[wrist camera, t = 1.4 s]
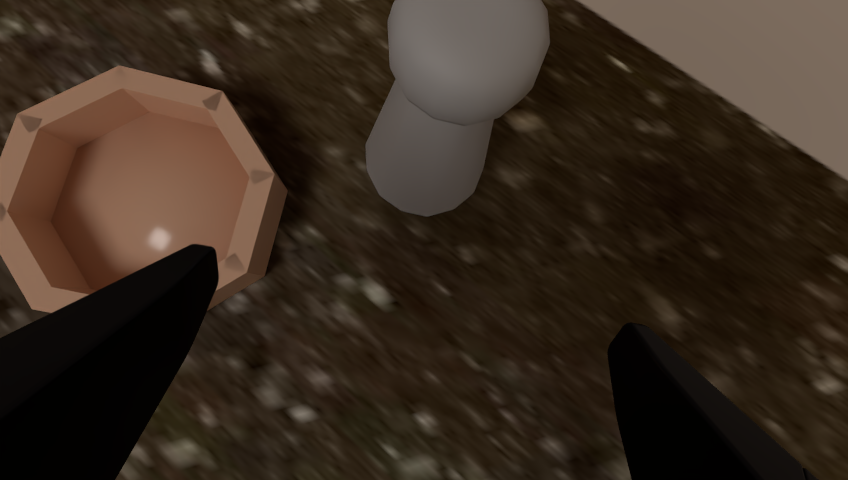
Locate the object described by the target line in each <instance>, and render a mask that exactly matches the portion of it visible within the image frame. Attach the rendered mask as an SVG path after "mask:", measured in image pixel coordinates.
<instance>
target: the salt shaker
mask: <svg viewBox="0 0 848 480" xmlns="http://www.w3.org/2000/svg"><path fill="white" fill-rule="evenodd" d="M388 39H389V59H390V69H391V70H392V72H393V74H394V76H395V78H396V80H395V82H394V84H393V86H392V88H391V90H390V93H389V95H388V97H387V99H386V101H385V103H384V106H383V108H382V110H381V112H380V114H379V116H378V119H377V121H376V123H375V125H374V127H373V129H372V132H371V134H370V136H369V138H368V140H367V142H366V165H367V172H368V174H369V176H370V178H371V180H372V182H373V184H374V186H375V188H376V190H377V192H378V194H379V195H380V196H381V197H382V198H384V199H385V200H386V201H388V202H389V203H391V204H392V205H394V206H395V207H396V208H398V209H399V210H401V211H403V212H408V213H412V214H417V215H421V216H426V217H428V216H432V215H435V214H439V213H442V212H446V211H450V210H453V209H455V208H456V207H457V206H459V205H460V204H461V203H462V202H463V201H465V200H466V199H467V198H468V197H469V196H471V195H472V194H473V193H474V191H475V188H476V186H477V183H478V181H479V178H480V176H481V173H482V171H483V168H484V163H485V158H486V154H487V149H488V144H489V140H490V135H491V130H492V126H493V121H494V119H496V118H499V117H501V116H502V115H503V114H504V113H506V112H507V111H508V110H509V109H511V108H512V107H513V106H514V105H516V104H517V103H518V102H519V101H521V100H522V99H523V98H524V97H525V96H526V95H527V94H528V93H529V91H530V90H531V89H532V88H533V85H534V83H535V80H536V78H537V75H538V73H539V70H540V68H541V65H542V62H543V60H544V57H545V55H546V52H547V50H548V47H549V44H550V37H549V24H548V12H547V9H546V7H545V6H544V4H543V2H542V1H541V0H395V2H394V4H393V6H392V9H391V12H390V15H389V18H388Z"/></svg>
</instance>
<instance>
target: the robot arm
mask: <svg viewBox="0 0 848 480" xmlns="http://www.w3.org/2000/svg"><path fill="white" fill-rule="evenodd" d="M218 282H219V272H218V263H217V254H216V250H215V249H214V248H213V247H211V246H206V245H201V244H191V245H189V246H187V247H184V248H182V249H180V250H178V251H176V252H174V253H172V254H170V255H168V256H166V257H164V258H162V259H160V260H158V261H156V262H154V263H152V264H150V265H148V266H146V267H144V268H142V269H140V270H138V271H136V272H134V273H132V274H130V275H128V276H126V277H124V278H122V279H119V280H117V281H115V282H113V283H111V284H109V285H107V286H105V287H103V288H101V289H99V290H97V291H95V292H93V293H91V294H89V295H87V296H85V297H83V298H81V299H79V300H77V301H75V302H73V303H71V304H69V305H67V306H65V307H63V308H61V309H59V310H56V311H54V312H52V313H50V314H48V315H46V316H44V317H42V318H40V319H38V320H36V321H34V322H32V323H30V324H28V325H26V326H24V327H22V328H20V329H18V330H16V331H14V332H12V333H10V334H8V335H6V336H4V337H2V338H0V480H115V479H116V477H117V476H118V474H119V472H120V470H121V469H122V467H123V465H124V463H125V462H126V460H127V458H128V457H129V455H130V453H131V451H132V450H133V448H134V446H135V444H136V443H137V441H138V439H139V438H140V436H141V434H142V432H143V431H144V429H145V427H146V425H147V424H148V422H149V420H150V419H151V417H152V415H153V413H154V412H155V410H156V408H157V406H158V405H159V403H160V401H161V400H162V398H163V396H164V394H165V393H166V391H167V389H168V387H169V386H170V384H171V382H172V381H173V379H174V377H175V375H176V374H177V372H178V370H179V368H180V367H181V365H182V363H183V362H184V360H185V358H186V356H187V354H188V352H189V350H190V348H191V346H192V344H193V342H194V339H195V337H196V335H197V333H198V330H199V328H200V326H201V323H202V321H203V319H204V316H205V314H206V312H207V309H208V307H209V305H210V302H211V300H212V298H213V295H214V293H215V291H216V288H217V286H218ZM608 362H609V369H610V376H611V383H612V390H613V397H614V404H615V411H616V416H617V421H618V426H619V430H620V434H621V438H622V442H623V446H624V450H625V454H626V458H627V462H628V466H629V470H630V474H631V478H632V480H818V479H817V478H816V477H815V476H814V475H813V474H811V473H810V472H809V471H808V470H807V469H805V468H802V465H801V464H800V463H799V462H798V461H797V460H796V459H795V458H793V457H792V456H791V455H790V454H789V453H788V452H787V451H786V450H785V449H783V448H782V447H781V446H780V445H779V444H778V443H777V442H776V441H775V440H773V439H772V438H771V437H770V436H769V435H768V434H767V433H766V432H765V431H763V430H762V429H761V428H760V427H759V426H758V425H757V424H756V423H754V422H753V421H752V420H751V419H750V418H749V417H748V416H747V415H746V414H744V413H743V412H742V411H741V410H740V409H739V408H738V407H737V406H736V405H734V404H733V403H732V402H731V401H730V400H729V399H728V398H727V397H726V396H724V395H723V394H722V393H721V392H720V391H719V390H718V389H717V388H715V387H714V386H713V385H712V384H711V383H710V382H709V381H708V380H707V379H705V378H704V377H703V376H702V375H701V374H700V373H699V372H698V371H697V370H695V369H694V368H693V367H692V366H691V365H690V364H689V363H688V362H687V361H685V360H684V359H683V358H682V357H681V356H680V355H679V354H678V353H677V352H675V351H674V350H673V349H672V348H671V347H670V346H669V345H668V344H667V343H665V342H664V341H663V340H662V339H661V338H660V337H659V336H658V335H656V334H655V333H654V332H653V331H652V330H651V329H650V328H649V327H647V326H645V325H642V324H636V323H626V324H625V325H624V326H623V327H622V328H621V330H620V331H619V332H618V334H617V335H616V337H615V338H614V339H613V341H612V342H611V344H610V345H609V348H608Z"/></svg>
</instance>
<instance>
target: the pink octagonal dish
mask: <svg viewBox="0 0 848 480" xmlns="http://www.w3.org/2000/svg"><path fill="white" fill-rule="evenodd" d="M287 192H288V190H287V189H286V187H285V185H284V184H283V182H282V181H281V179H280V178H279V176H278V174H277V173H276V171H275V170H274V168H273V166H272V165H271V163H270V162H269V160H268V158H267V157H266V155H265V154H264V152H263V151H262V149H261V147H260V146H259V144H258V143H257V141H256V139H255V138H254V136H253V135H252V133H251V131H250V130H249V128H248V127H247V125H246V124H245V122H244V120H243V118H242V117H241V116H240V114H239V113H238V111H237V110H236V109H235V107H234V106H233V105H232V103H231V102H230V100H229V99H228V98H227V96H226V95H225V93H224V92H223V91H220V90H216V89H212V88H208V87H204V86H200V85H196V84H192V83H188V82H184V81H180V80H176V79H172V78H168V77H164V76H160V75H156V74H152V73H148V72H144V71H140V70H135V69H131V68H127V67H123V66H120V65H119V66H117V67H115V68H113V69H111V70H109V71H107V72H105V73H103V74H100V75H98V76H96V77H94V78H92V79H90V80H88V81H86V82H84V83H81V84H79V85H77V86H75V87H73V88H71V89H69V90H67V91H65V92H62V93H60V94H58V95H56V96H54V97H52V98H50V99H48V100H46V101H43V102H41V103H39V104H37V105H35V106H33V107H31V108H29V109H27V110H24V111H22V112H20V113H18V114H17V116H16V119H15V122H14V124H13V127H12V129H11V132H10V134H9V137H8V139H7V142H6V144H5V147H4V149H3V152H2V154H1V157H0V255H1V256H2V258H3V260H4V262H5V263H6V265H7V267H8V269H9V270H10V272H11V274H12V275H13V277H14V279H15V281H16V282H17V284H18V286H19V288H20V289H21V291H22V293H23V294H24V296H25V298H26V300H27V301H28V303H29V305H30V307H31V308H32V309H34V310H39V311H44V312H50V313H52V312H54V311H56V310H59V309H61V308H63V307H65V306H67V305H69V304H71V303H73V302H75V301H77V300H79V299H81V298H83V297H85V296H87V295H89V294H91V293H93V292H95V291H97V290H99V289H101V288H103V287H105V286H107V285H109V284H111V283H113V282H115V281H117V280H119V279H122V278H124V277H126V276H128V275H130V274H132V273H134V272H136V271H138V270H140V269H142V268H144V267H146V266H148V265H150V264H152V263H154V262H156V261H158V260H160V259H162V258H164V257H166V256H168V255H170V254H172V253H174V252H176V251H178V250H180V249H182V248H184V247H187V246H189V245H191V244H201V245H206V246H211V247H213V248H214V249H215V250H216V254H217V263H218V272H219V282H218V286H217V288H216V291H215V293H214V295H213V298H212V300H211V302H210V305H209V307H208V309H207V311H208V310H209V309H211V308H213V307H214V306H216V305H218V304H219V303H221V302H223V301H224V300H226V299H228V298H229V297H231V296H233V295H234V294H236V293H238V292H239V291H241V290H242V289H244V288H246V287H247V286H249V285H251V284H252V283H254V282H256V281H257V280H259V279H261V278H262V277H264V276H265V273H266V269H267V265H268V262H269V258H270V254H271V251H272V247H273V243H274V240H275V236H276V232H277V229H278V225H279V221H280V218H281V214H282V210H283V207H284V203H285V199H286V196H287Z"/></svg>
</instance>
